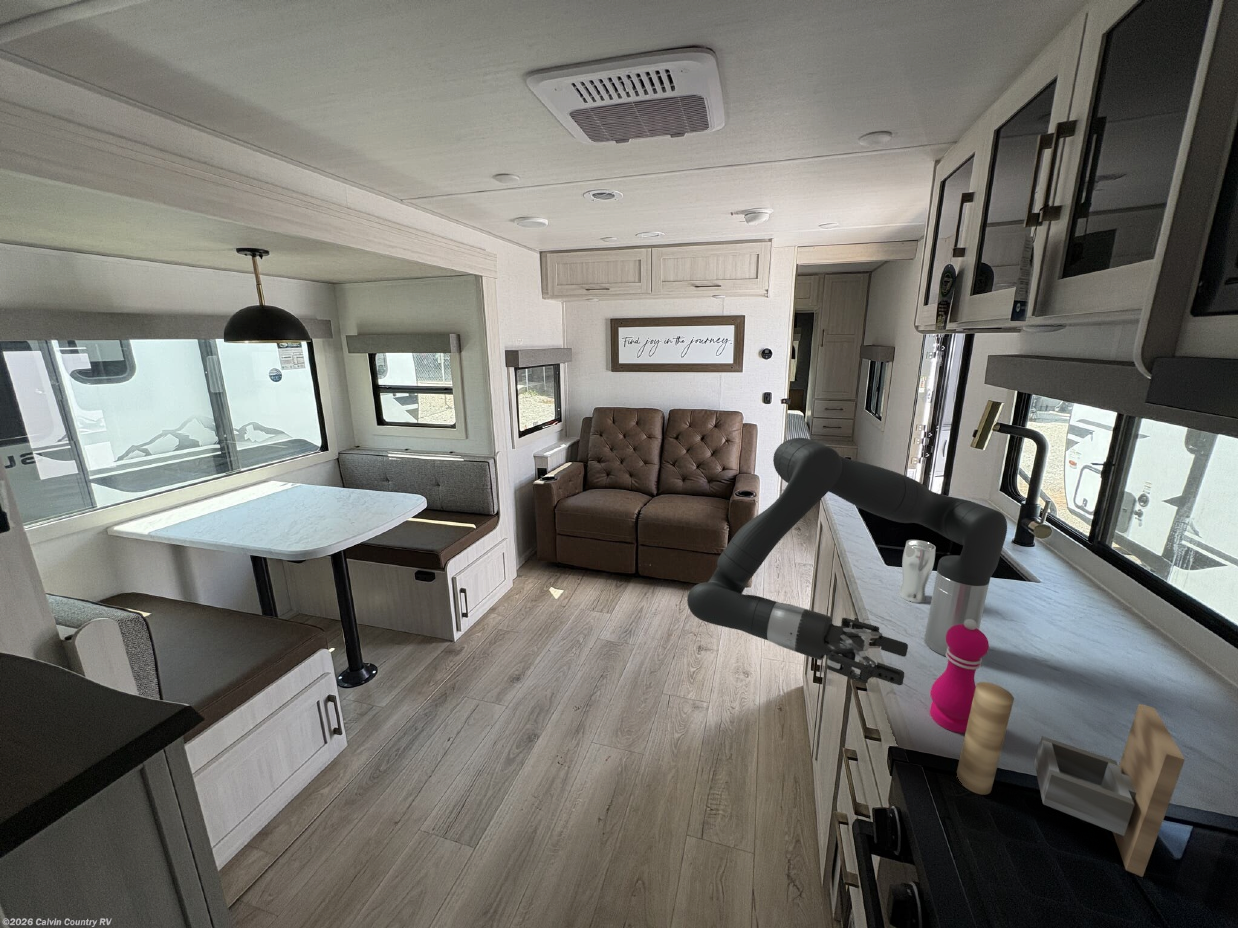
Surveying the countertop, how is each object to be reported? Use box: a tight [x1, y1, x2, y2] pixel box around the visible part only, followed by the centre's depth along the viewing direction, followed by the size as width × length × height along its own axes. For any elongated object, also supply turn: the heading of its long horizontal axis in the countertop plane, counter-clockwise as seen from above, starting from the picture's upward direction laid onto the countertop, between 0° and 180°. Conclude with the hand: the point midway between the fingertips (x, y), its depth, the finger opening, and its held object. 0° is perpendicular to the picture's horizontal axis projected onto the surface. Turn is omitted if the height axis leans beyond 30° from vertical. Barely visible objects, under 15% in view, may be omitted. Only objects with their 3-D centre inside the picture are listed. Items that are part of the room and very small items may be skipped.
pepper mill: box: [929, 619, 990, 734], centre depth 84 cm, size 7×7×20 cm
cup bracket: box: [1033, 703, 1186, 878], centre depth 66 cm, size 10×10×18 cm
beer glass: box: [898, 539, 937, 604], centre depth 127 cm, size 7×7×15 cm
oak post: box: [956, 681, 1015, 796], centre depth 73 cm, size 4×4×16 cm
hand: (905, 663), depth 76 cm, fingers open, 8 cm apart
